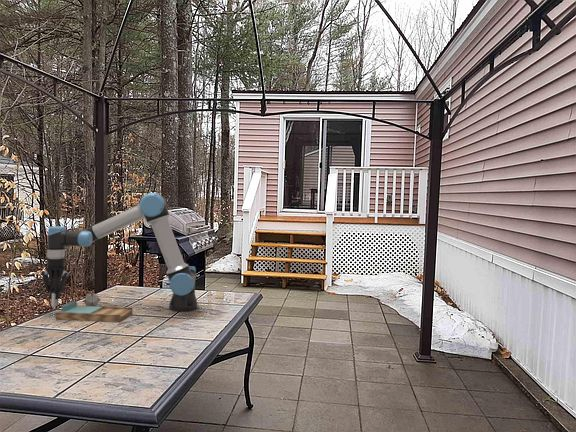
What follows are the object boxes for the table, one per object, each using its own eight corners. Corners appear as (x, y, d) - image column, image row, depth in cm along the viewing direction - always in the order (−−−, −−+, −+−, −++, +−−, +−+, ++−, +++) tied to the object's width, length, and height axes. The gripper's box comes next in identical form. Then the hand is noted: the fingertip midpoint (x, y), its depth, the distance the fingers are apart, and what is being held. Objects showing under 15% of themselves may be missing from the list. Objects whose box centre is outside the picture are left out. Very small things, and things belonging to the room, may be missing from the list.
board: (132, 314, 210) (132, 307, 210) (119, 322, 195) (120, 315, 195) (72, 311, 211) (72, 305, 211) (55, 319, 196) (55, 312, 196)
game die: (93, 315, 219) (94, 302, 213) (78, 309, 219) (79, 296, 214) (103, 304, 226) (104, 291, 221) (89, 297, 227) (90, 285, 221)
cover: (102, 308, 209) (102, 301, 209) (89, 314, 197) (89, 307, 196) (74, 307, 210) (74, 300, 209) (60, 313, 197) (60, 306, 197)
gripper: (73, 257, 206) (71, 304, 207) (47, 256, 207) (45, 303, 207) (64, 259, 199) (63, 308, 199) (38, 258, 199) (36, 307, 199)
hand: (54, 305), depth 203 cm, fingers closed
